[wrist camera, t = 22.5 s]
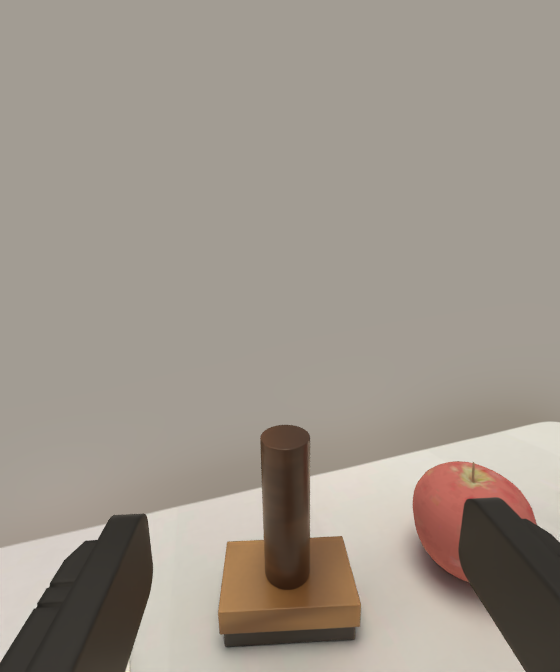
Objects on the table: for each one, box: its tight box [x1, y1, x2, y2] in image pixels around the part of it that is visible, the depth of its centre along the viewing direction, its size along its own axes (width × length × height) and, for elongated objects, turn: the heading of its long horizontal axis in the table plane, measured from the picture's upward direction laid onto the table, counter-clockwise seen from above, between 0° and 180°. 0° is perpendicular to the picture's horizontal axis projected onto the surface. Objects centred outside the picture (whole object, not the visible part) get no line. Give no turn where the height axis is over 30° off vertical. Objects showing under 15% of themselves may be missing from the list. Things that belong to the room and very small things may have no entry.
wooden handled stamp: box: [218, 425, 361, 647], centre depth 22 cm, size 8×5×12 cm, turn 92°
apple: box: [413, 461, 537, 582], centre depth 25 cm, size 7×7×8 cm
